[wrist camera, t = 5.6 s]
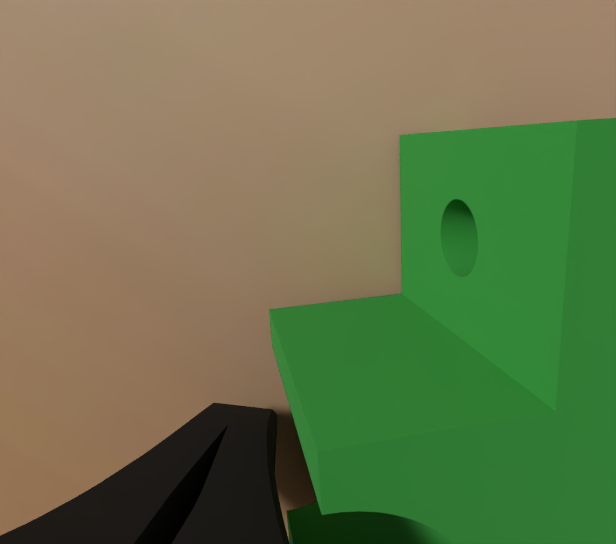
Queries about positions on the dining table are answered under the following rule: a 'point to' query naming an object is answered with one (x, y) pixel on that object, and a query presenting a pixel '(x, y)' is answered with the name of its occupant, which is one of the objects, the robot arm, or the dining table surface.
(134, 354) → the dining table surface
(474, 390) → the pipe clamp
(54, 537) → the robot arm
